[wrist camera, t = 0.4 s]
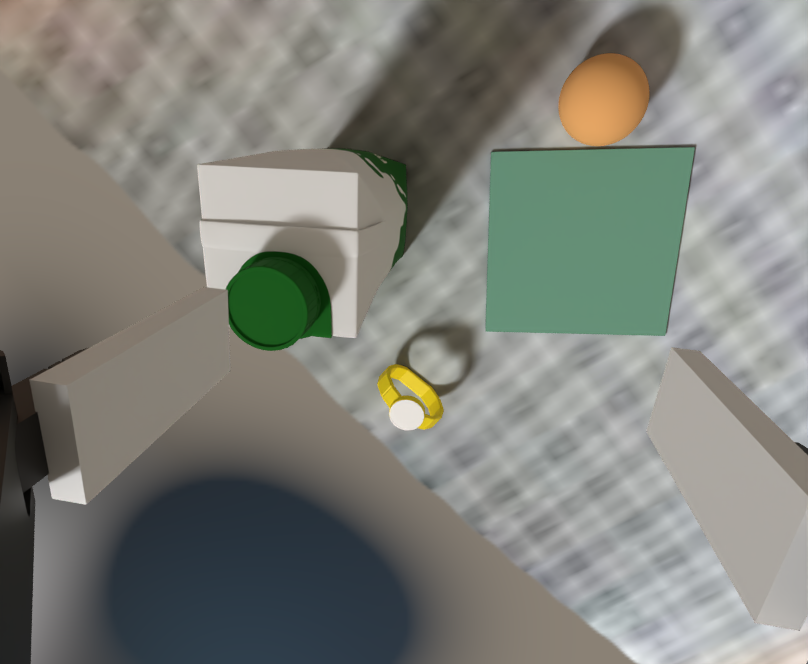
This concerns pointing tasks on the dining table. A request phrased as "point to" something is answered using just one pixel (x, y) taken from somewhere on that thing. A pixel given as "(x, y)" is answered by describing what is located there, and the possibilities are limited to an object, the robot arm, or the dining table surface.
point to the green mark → (585, 239)
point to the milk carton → (301, 239)
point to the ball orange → (603, 99)
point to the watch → (409, 399)
